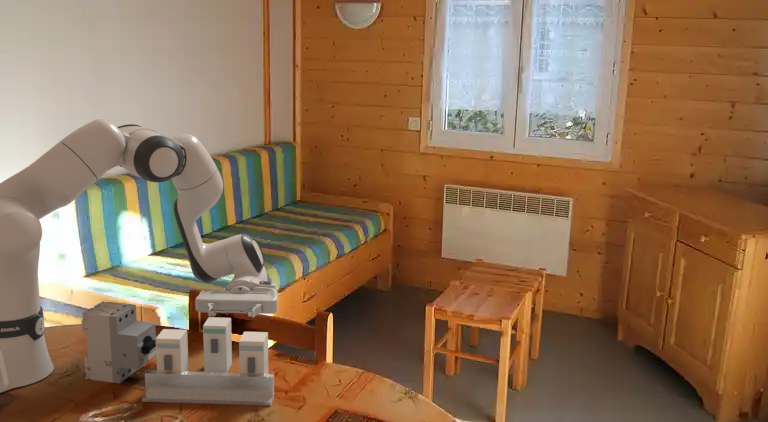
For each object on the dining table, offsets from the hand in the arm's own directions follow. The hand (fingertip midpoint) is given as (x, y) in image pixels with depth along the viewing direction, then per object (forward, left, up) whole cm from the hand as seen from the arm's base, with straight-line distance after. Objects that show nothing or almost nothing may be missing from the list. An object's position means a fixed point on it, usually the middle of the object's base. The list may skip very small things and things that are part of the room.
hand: (231, 313), depth 168 cm
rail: (+1, -27, -8) cm, 28 cm away
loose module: (0, -12, -8) cm, 15 cm away
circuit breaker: (-19, -17, -8) cm, 27 cm away
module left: (-7, -22, -8) cm, 25 cm away
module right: (+10, -22, -8) cm, 26 cm away
